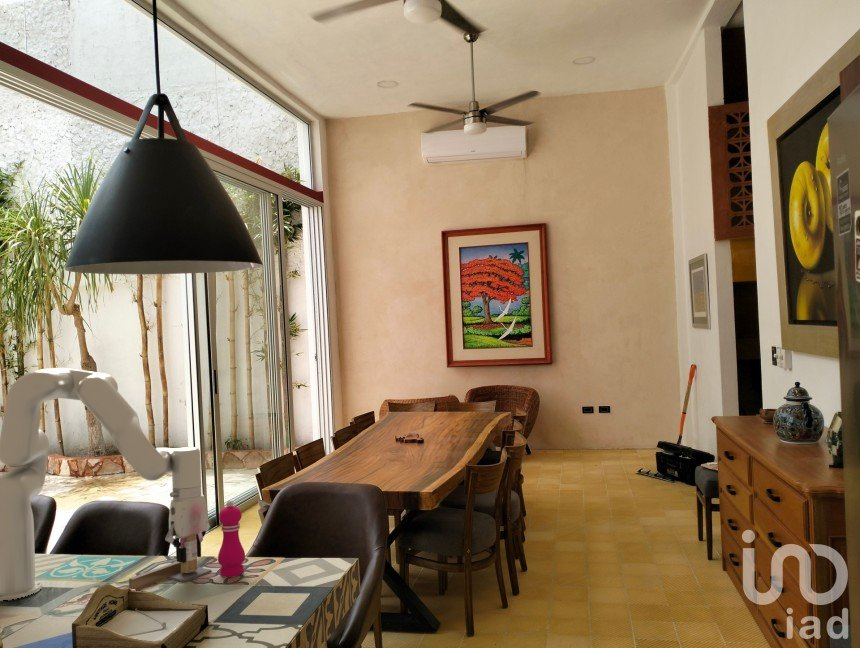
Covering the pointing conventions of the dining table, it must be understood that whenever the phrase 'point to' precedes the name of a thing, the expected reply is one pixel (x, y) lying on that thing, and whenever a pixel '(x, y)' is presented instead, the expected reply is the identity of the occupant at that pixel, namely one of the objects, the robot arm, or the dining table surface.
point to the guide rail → (154, 575)
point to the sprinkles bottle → (190, 555)
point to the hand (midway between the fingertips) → (189, 558)
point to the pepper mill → (231, 542)
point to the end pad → (189, 575)
